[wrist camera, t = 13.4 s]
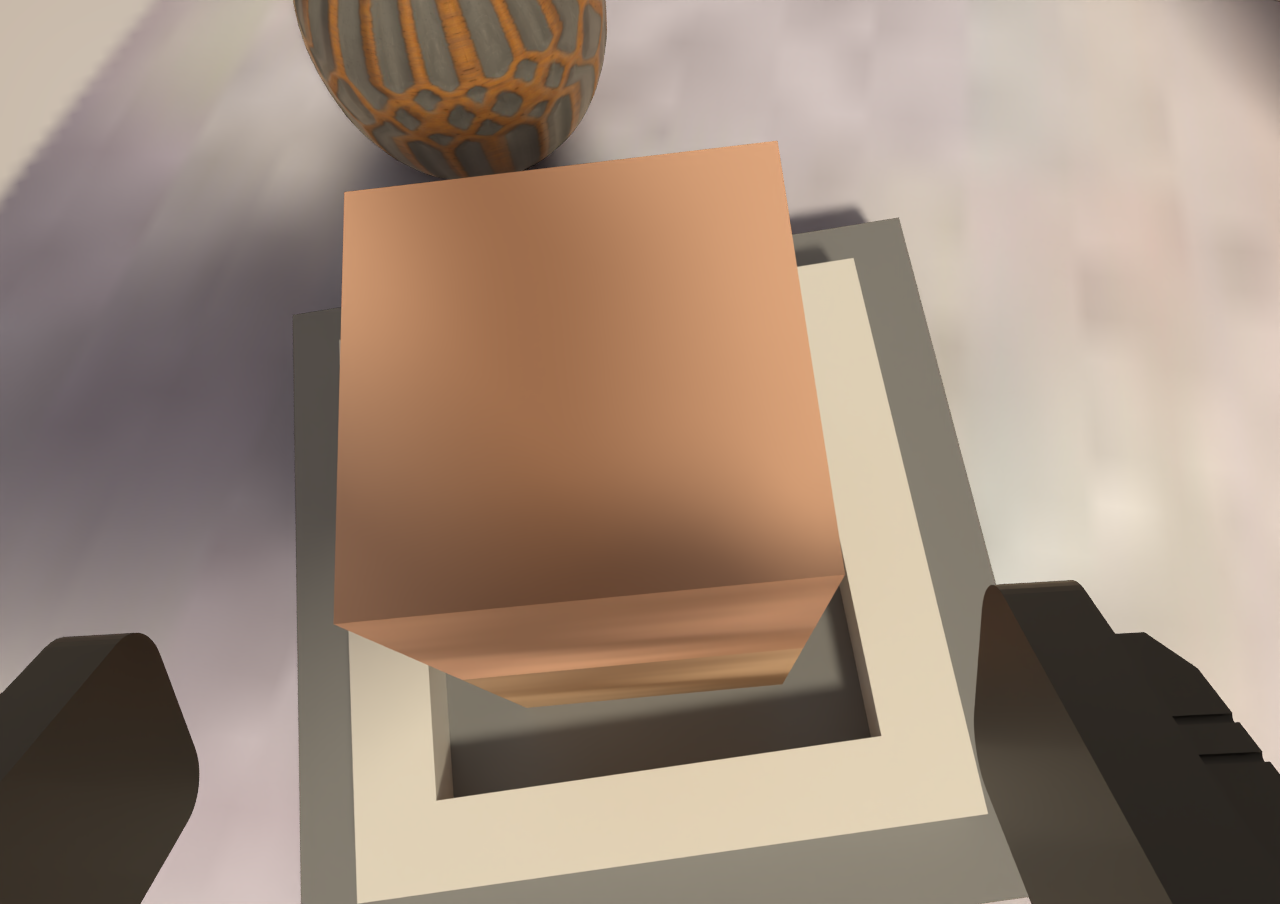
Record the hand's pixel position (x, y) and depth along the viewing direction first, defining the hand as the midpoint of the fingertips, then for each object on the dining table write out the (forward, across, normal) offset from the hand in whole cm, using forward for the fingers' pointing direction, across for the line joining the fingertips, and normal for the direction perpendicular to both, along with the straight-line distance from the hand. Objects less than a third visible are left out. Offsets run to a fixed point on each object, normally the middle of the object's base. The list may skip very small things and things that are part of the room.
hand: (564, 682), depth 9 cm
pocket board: (+10, 0, +6) cm, 12 cm away
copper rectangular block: (+9, 0, +5) cm, 10 cm away
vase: (+20, +4, -3) cm, 20 cm away
